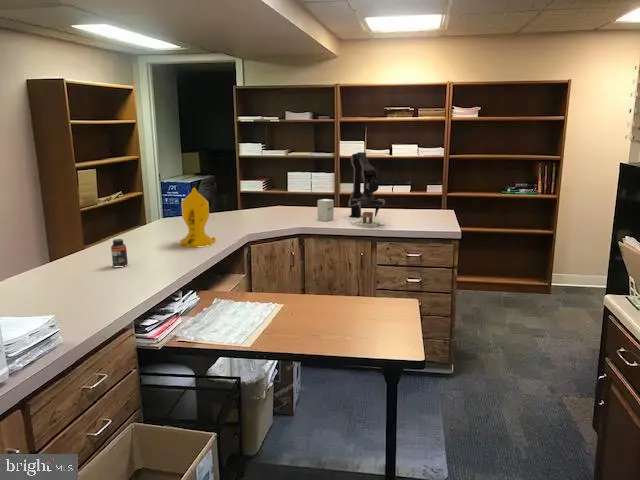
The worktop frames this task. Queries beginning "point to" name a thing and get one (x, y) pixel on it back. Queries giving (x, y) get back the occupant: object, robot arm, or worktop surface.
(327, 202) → the supplement box
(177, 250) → the worktop surface
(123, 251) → the supplement bottle
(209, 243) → the yellow pointed sculpture
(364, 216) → the toy stool
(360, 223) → the sage mat
